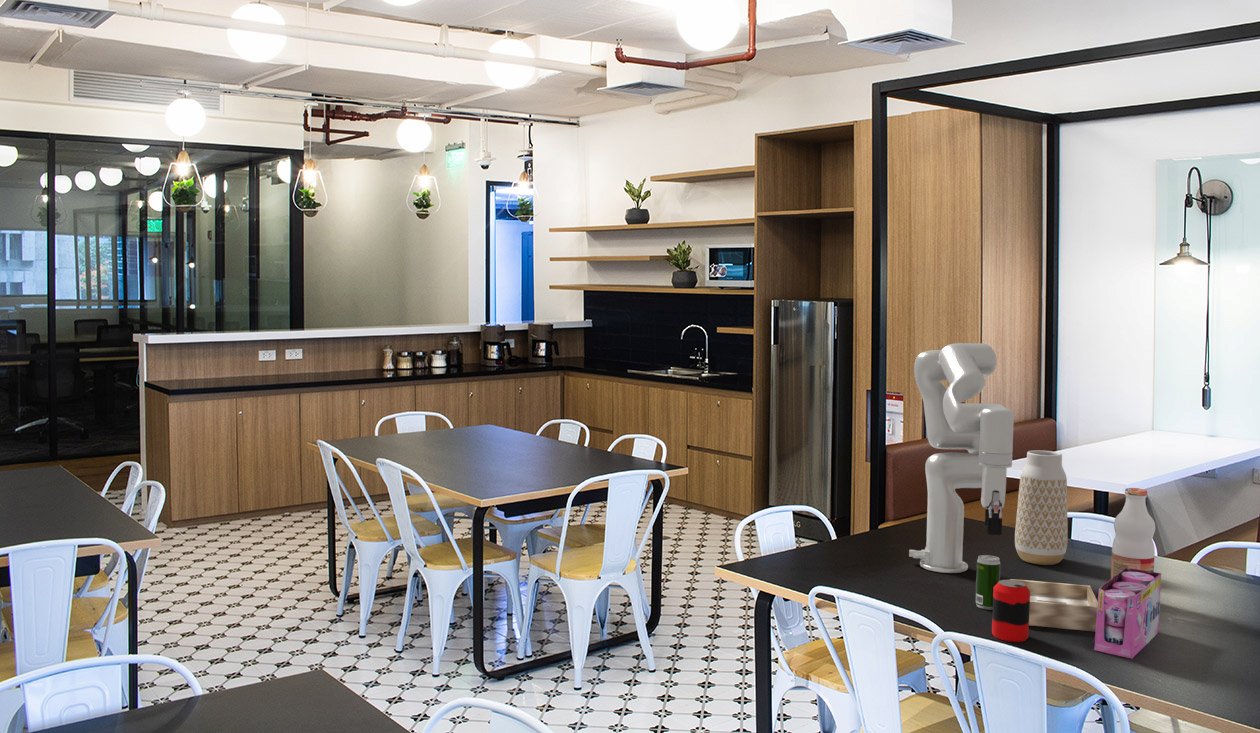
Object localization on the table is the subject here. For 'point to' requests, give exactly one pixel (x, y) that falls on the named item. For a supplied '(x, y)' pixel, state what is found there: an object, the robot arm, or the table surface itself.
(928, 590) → the table surface
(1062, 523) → the vase
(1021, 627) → the soda can
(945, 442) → the robot arm
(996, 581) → the beer can
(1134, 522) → the fruit juice
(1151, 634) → the gum box
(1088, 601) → the crate
